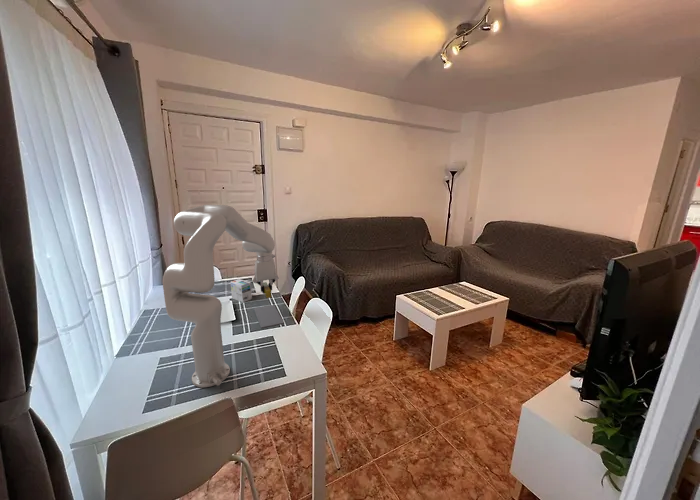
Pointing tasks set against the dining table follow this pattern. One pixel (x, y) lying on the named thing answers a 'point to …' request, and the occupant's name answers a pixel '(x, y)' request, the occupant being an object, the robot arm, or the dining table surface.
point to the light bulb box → (241, 290)
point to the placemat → (268, 316)
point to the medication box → (267, 290)
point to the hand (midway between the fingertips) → (266, 291)
